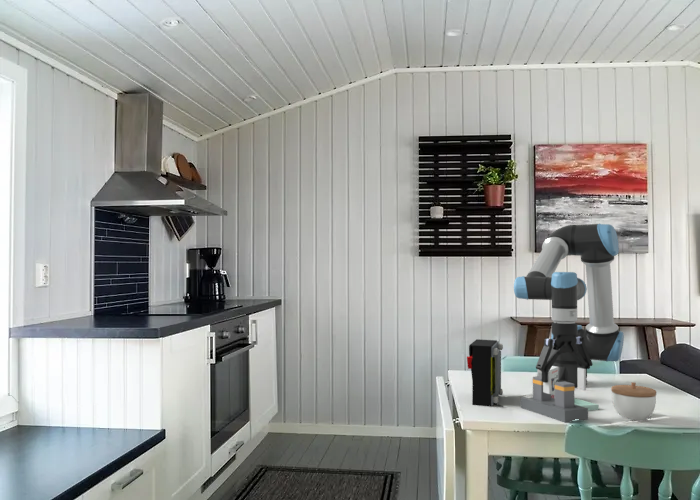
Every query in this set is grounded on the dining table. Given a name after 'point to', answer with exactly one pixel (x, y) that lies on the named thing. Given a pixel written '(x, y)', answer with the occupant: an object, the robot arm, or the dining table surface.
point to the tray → (586, 404)
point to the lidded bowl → (633, 401)
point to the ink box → (553, 378)
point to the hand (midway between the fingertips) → (564, 391)
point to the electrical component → (485, 371)
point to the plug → (564, 394)
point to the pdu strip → (550, 405)
